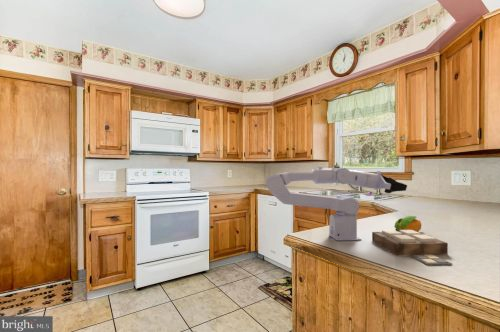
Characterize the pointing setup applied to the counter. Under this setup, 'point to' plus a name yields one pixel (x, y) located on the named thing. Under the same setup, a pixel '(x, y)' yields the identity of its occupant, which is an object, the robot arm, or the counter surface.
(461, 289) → the counter surface
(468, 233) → the counter surface
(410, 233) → the button
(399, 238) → the button
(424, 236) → the button
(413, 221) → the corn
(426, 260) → the card
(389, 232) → the button
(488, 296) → the counter surface
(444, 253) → the button board
